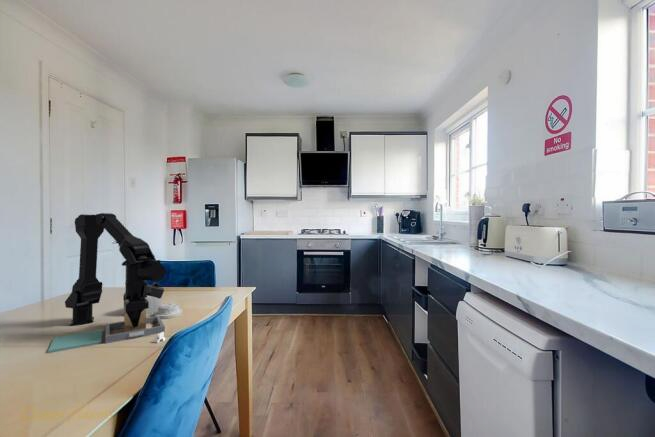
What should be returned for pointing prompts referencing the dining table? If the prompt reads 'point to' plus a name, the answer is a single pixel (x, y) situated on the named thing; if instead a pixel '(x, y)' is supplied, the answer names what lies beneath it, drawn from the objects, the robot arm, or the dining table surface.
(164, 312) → the mechanical component
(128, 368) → the dining table surface
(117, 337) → the grey tapered frame
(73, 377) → the dining table surface
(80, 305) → the robot arm
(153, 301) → the lumpy-topped squat cylinder
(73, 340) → the service mat
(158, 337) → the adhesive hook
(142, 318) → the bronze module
